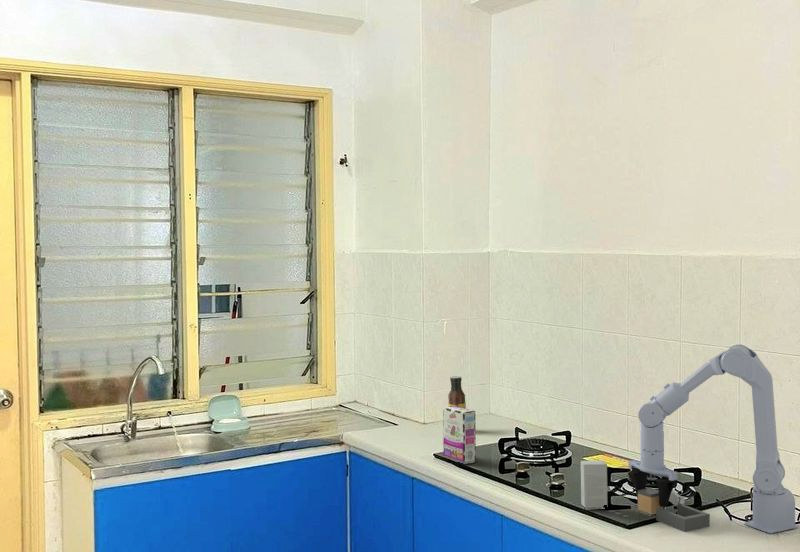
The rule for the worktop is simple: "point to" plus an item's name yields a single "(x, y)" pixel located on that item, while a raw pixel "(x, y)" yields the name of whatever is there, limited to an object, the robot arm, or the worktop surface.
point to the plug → (648, 500)
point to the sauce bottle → (456, 393)
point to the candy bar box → (459, 433)
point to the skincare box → (593, 483)
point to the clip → (676, 498)
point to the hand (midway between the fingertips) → (652, 502)
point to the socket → (684, 518)
